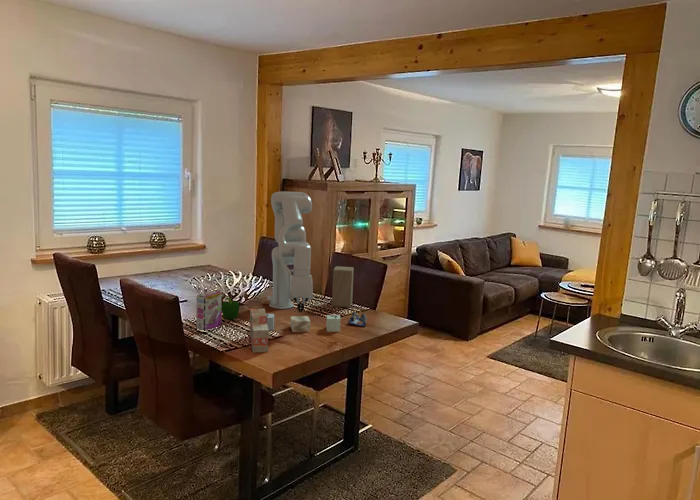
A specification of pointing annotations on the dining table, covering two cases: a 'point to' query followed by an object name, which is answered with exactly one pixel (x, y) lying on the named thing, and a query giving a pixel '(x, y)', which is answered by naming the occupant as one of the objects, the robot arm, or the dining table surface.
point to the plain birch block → (300, 323)
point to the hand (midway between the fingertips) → (300, 311)
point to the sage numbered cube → (333, 323)
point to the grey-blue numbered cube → (270, 321)
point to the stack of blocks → (259, 330)
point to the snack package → (358, 319)
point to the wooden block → (342, 286)
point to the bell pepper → (230, 309)
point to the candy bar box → (209, 310)
